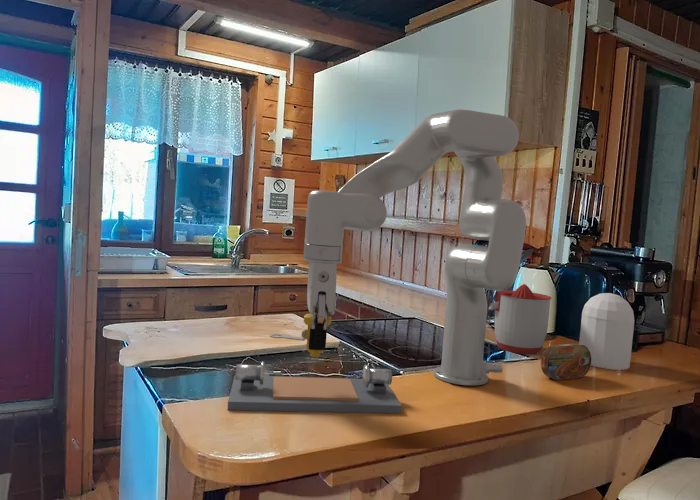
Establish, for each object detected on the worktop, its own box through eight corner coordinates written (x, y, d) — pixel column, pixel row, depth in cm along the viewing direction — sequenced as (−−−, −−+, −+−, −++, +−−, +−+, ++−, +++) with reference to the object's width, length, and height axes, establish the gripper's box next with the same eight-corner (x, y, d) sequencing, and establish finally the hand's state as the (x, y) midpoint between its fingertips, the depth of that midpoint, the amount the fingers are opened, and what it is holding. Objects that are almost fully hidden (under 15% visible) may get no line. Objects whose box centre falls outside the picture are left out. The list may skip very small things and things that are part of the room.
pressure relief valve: (324, 360, 104) (328, 308, 103) (264, 353, 106) (267, 301, 105) (330, 353, 109) (334, 304, 108) (273, 347, 111) (276, 298, 110)
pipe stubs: (387, 387, 112) (388, 363, 111) (391, 395, 107) (393, 369, 107) (236, 383, 108) (237, 358, 107) (234, 391, 103) (236, 364, 103)
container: (629, 373, 144) (636, 298, 142) (574, 363, 150) (582, 292, 149) (629, 362, 156) (637, 293, 154) (579, 354, 162) (586, 287, 161)
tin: (546, 381, 130) (550, 347, 130) (537, 377, 133) (540, 344, 133) (590, 377, 137) (594, 344, 137) (580, 373, 140) (583, 341, 139)
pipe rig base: (384, 386, 118) (385, 377, 118) (401, 413, 102) (401, 403, 102) (234, 382, 113) (234, 372, 113) (227, 409, 98) (228, 398, 97)
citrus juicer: (482, 341, 170) (488, 278, 168) (540, 347, 167) (546, 283, 166) (488, 353, 154) (494, 284, 153) (551, 360, 152) (558, 289, 151)
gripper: (347, 259, 98) (339, 358, 99) (337, 252, 115) (330, 336, 116) (305, 256, 97) (298, 356, 98) (301, 249, 114) (295, 335, 115)
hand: (315, 344), depth 107 cm, fingers closed on pressure relief valve, 5 cm apart
